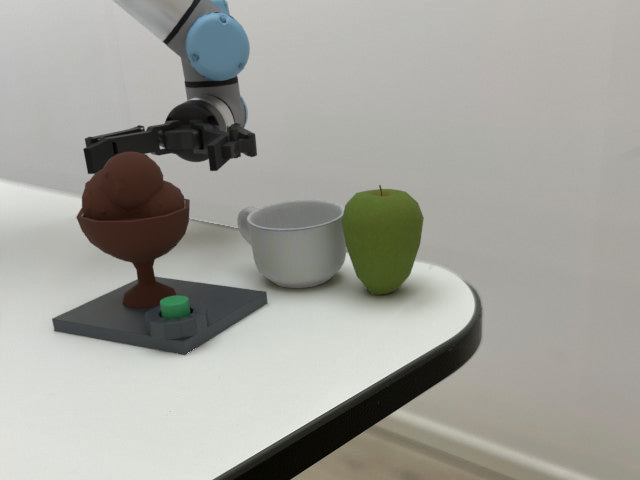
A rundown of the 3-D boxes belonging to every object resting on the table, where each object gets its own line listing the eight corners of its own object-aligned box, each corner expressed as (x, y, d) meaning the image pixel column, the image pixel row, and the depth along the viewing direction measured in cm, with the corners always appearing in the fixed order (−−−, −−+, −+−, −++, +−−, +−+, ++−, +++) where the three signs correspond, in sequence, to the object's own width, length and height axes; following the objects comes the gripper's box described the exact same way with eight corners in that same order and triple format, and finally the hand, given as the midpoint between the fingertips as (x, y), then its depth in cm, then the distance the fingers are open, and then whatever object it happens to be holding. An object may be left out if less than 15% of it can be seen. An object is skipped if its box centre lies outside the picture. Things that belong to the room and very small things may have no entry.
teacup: (368, 277, 87) (365, 207, 83) (294, 303, 80) (288, 229, 77) (290, 254, 96) (284, 191, 93) (218, 276, 89) (209, 208, 86)
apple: (397, 311, 77) (396, 197, 72) (328, 298, 81) (322, 189, 76) (437, 285, 84) (438, 179, 79) (371, 274, 88) (368, 173, 83)
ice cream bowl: (222, 286, 82) (205, 142, 75) (156, 324, 72) (130, 163, 66) (143, 276, 86) (121, 138, 79) (71, 310, 77) (39, 158, 70)
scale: (52, 332, 75) (46, 304, 74) (147, 286, 87) (143, 261, 86) (185, 357, 69) (181, 326, 67) (269, 304, 80) (267, 277, 79)
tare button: (156, 318, 70) (153, 303, 70) (174, 309, 72) (171, 293, 72) (179, 322, 69) (176, 306, 69) (196, 312, 71) (194, 297, 71)
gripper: (294, 154, 102) (267, 191, 83) (113, 159, 104) (45, 196, 85) (290, 96, 99) (260, 120, 80) (103, 101, 101) (30, 127, 82)
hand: (150, 159), depth 83 cm, fingers open, 13 cm apart
